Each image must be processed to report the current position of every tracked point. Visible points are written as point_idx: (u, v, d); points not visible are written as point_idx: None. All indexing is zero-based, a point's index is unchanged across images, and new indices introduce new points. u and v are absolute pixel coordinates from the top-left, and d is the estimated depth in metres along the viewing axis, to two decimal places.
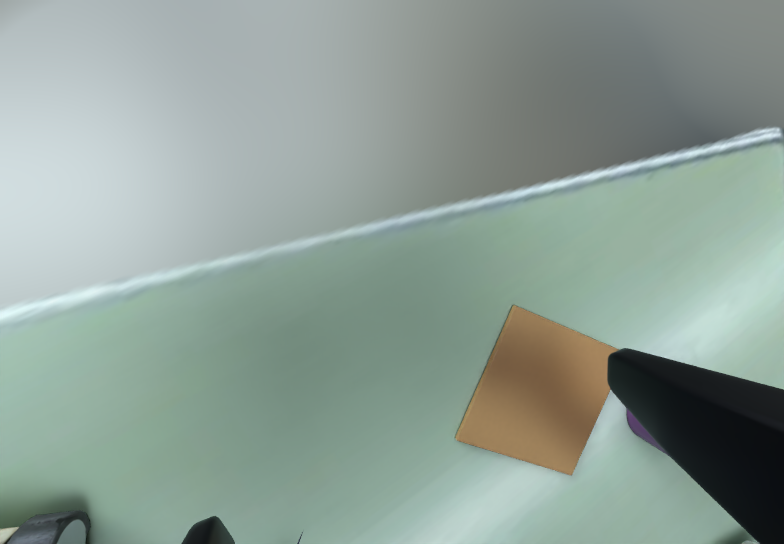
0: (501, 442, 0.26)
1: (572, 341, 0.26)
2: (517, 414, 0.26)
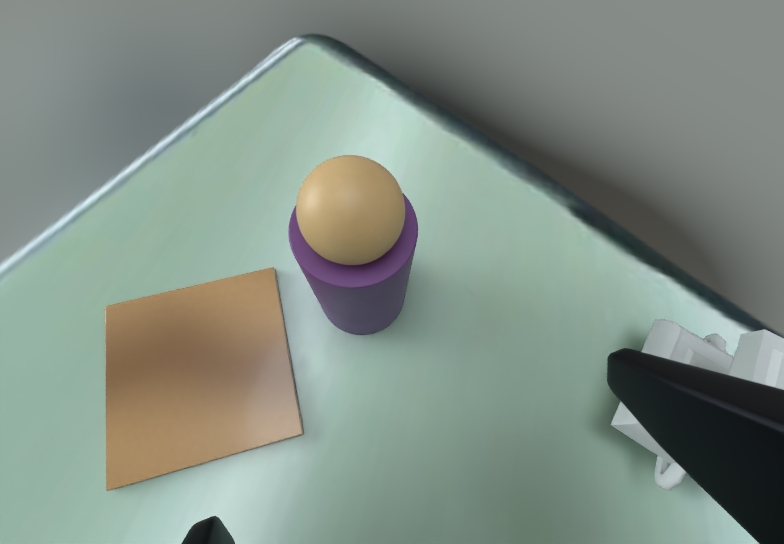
0: (171, 455, 0.20)
1: (196, 296, 0.23)
2: (174, 409, 0.20)
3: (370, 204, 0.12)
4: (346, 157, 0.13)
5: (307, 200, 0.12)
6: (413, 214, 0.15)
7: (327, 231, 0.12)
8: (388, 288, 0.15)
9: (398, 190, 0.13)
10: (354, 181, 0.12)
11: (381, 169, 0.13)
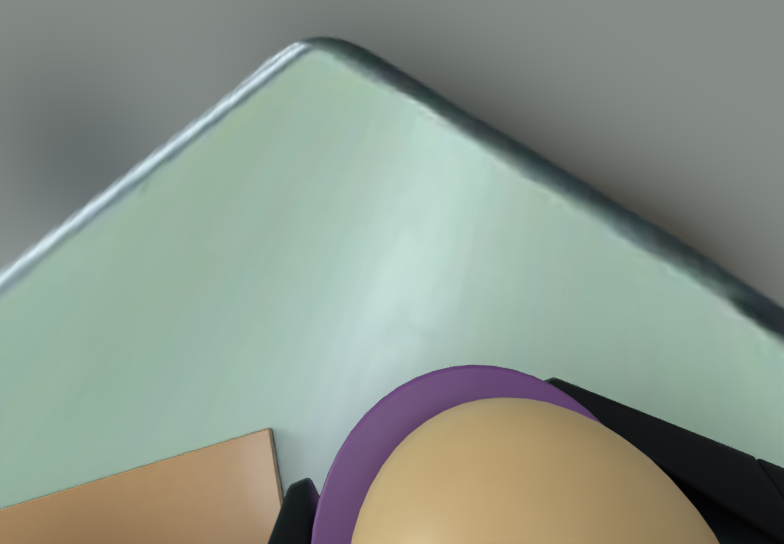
0: None
1: (132, 493, 0.13)
2: None
3: None
4: (556, 484, 0.03)
5: None
6: None
7: None
8: None
9: None
10: None
11: (694, 526, 0.03)
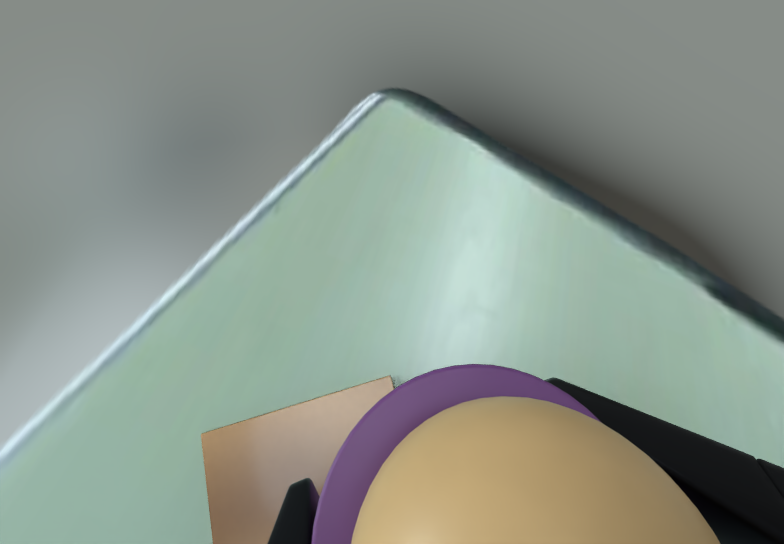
0: None
1: (306, 416, 0.19)
2: None
3: None
4: (556, 482, 0.03)
5: None
6: None
7: None
8: None
9: None
10: None
11: (693, 524, 0.03)
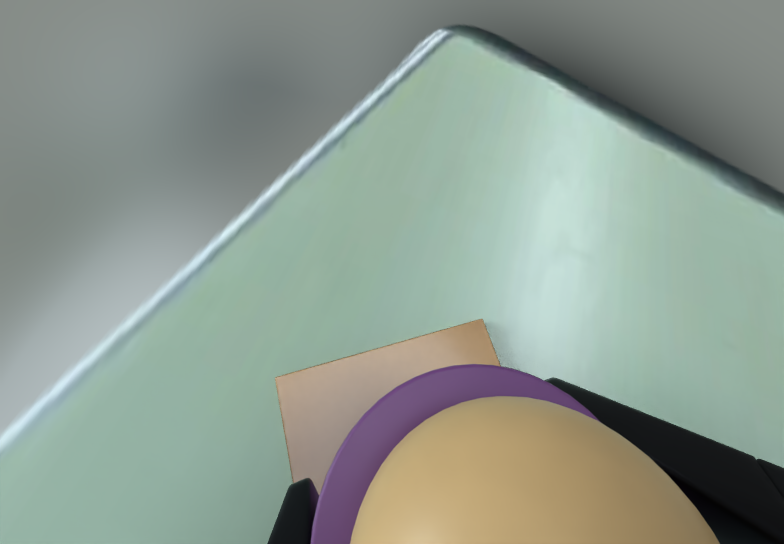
0: None
1: (392, 360, 0.17)
2: None
3: None
4: (555, 482, 0.03)
5: None
6: None
7: None
8: None
9: None
10: None
11: (692, 524, 0.03)
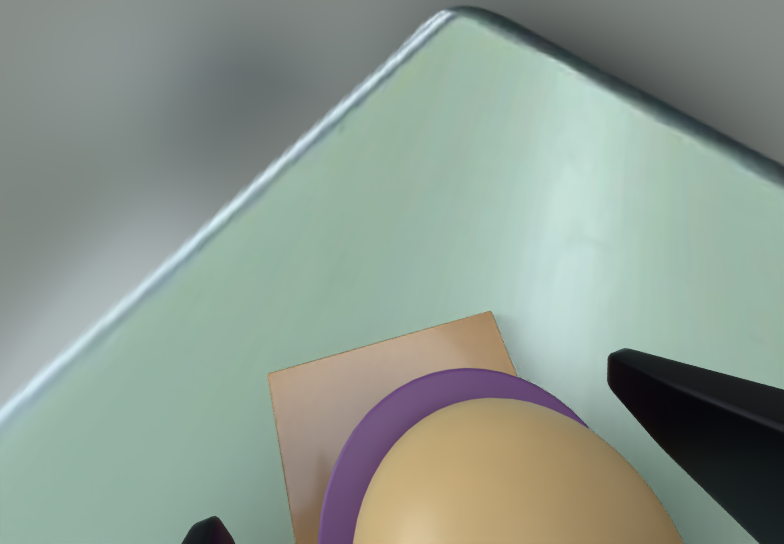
0: None
1: (394, 355, 0.16)
2: None
3: None
4: (531, 472, 0.04)
5: None
6: None
7: None
8: None
9: None
10: None
11: (647, 507, 0.04)
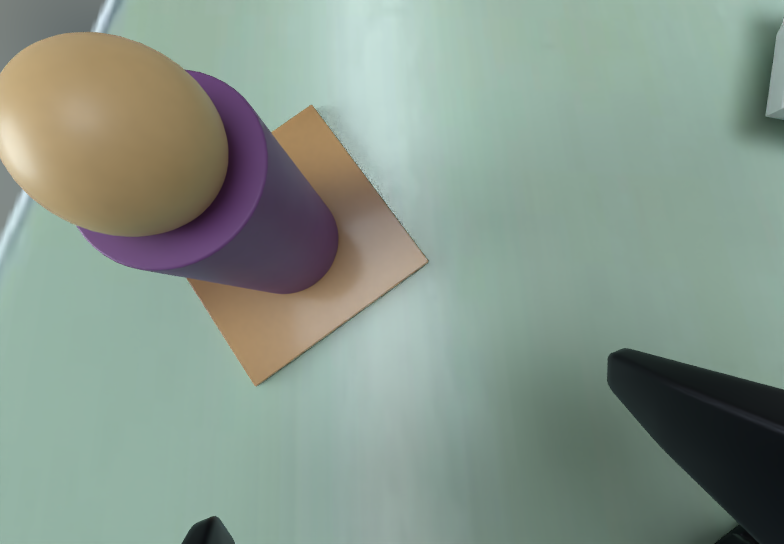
0: (303, 331, 0.18)
1: None
2: None
3: (101, 117, 0.06)
4: (35, 43, 0.07)
5: (0, 154, 0.07)
6: (248, 109, 0.09)
7: (60, 196, 0.07)
8: (266, 236, 0.10)
9: (166, 72, 0.07)
10: (47, 82, 0.06)
11: (110, 42, 0.07)
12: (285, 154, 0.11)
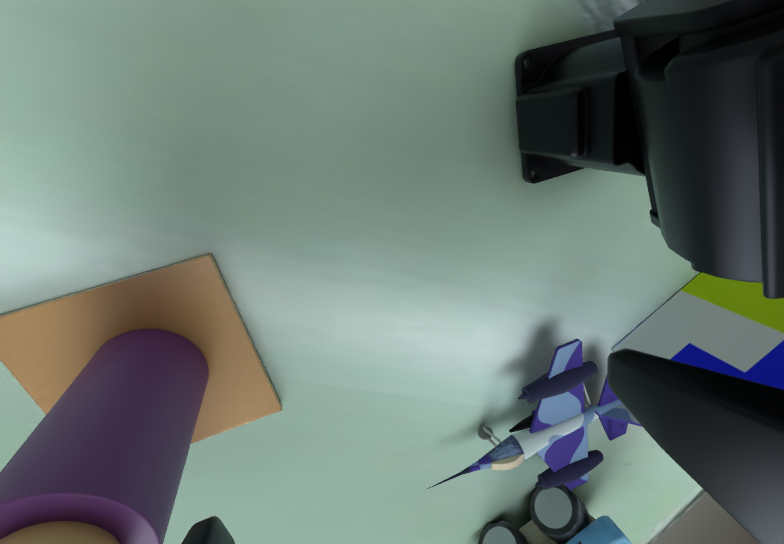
0: (246, 371, 0.20)
1: (56, 401, 0.18)
2: None
3: None
4: None
5: None
6: (2, 506, 0.10)
7: None
8: (147, 470, 0.12)
9: None
10: None
11: None
12: (57, 442, 0.11)
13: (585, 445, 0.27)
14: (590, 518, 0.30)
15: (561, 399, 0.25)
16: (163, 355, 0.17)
